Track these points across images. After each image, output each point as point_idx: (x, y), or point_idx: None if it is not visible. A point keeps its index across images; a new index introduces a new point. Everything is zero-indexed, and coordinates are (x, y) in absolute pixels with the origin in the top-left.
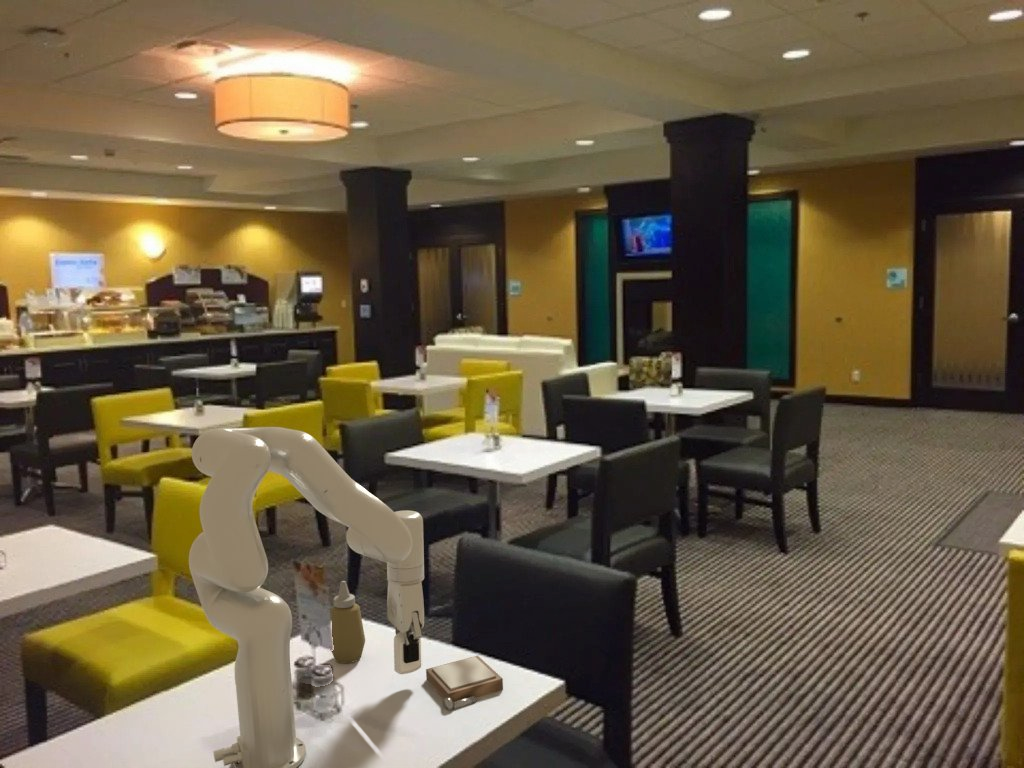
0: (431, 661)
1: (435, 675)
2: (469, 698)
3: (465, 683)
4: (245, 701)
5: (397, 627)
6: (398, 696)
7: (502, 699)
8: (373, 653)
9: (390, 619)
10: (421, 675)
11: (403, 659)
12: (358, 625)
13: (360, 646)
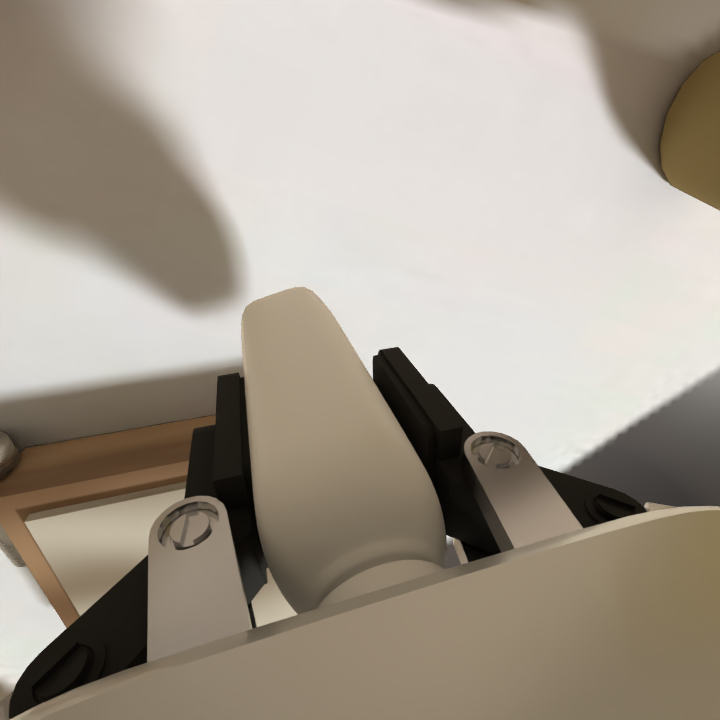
0: None
1: None
2: (5, 550)
3: (67, 578)
4: None
5: (199, 706)
6: (230, 254)
7: (55, 615)
8: (659, 249)
9: (641, 579)
10: None
11: (244, 379)
12: None
13: (717, 178)
